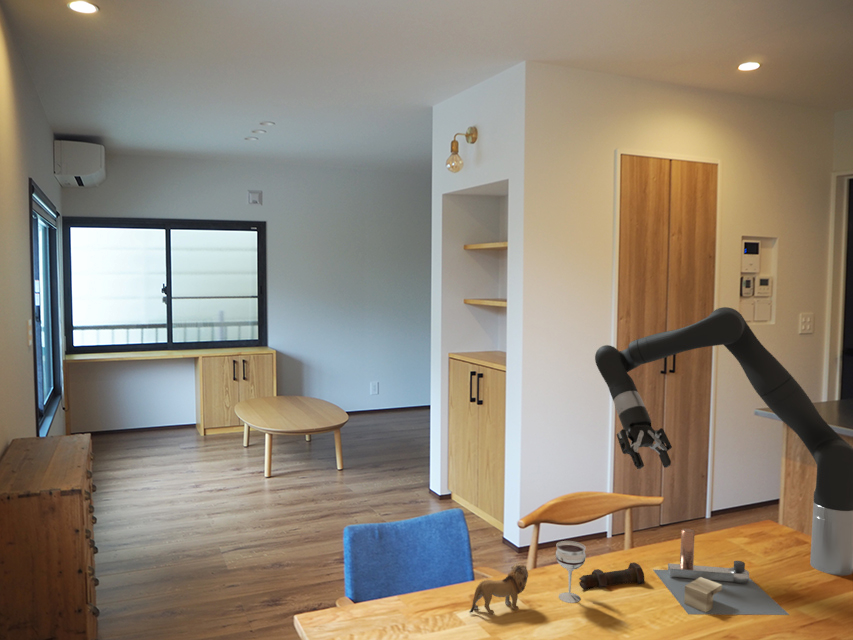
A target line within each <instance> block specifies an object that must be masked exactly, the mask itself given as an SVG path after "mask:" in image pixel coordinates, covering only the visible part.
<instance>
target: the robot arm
mask: <svg viewBox="0 0 853 640" xmlns="http://www.w3.org/2000/svg"><path fill="white" fill-rule="evenodd" d="M716 346H724V347H725V348H726V349H727V350H728V352H730V353H731V354H732V355H733V357H734V358H735V359H736V360H737V362H738V364H739V365H740V367H741V368H742V370H743V372H744V374H745V375H746V378H747V379H748V381H749V383H750V385H751V386H752V388H753V389H754V391H755V392H756V393H757V395H758V396H759V397H760V399H761V400H762V401H763V402H764V404H765V405H766V406H767V407H768V408H769V409H770V410H771V412H773V413H774V414H775V415H776V416H777V417H778V418H779V420H781V421H782V422H783V423H784V424H786V425H787V427H789V428H790V429H791V430H792V431H793V432H794V433H795V434H797V436H798V437H799V438H800V440H801V441H802V442H803V444H804V446H805V447H806V448H807V450H808V451H809V453H810V455H811V456H812V458H813V460H814V461H815V463H816V479H815V481H816V482H815V489H814V491H813V503H812V505H813V506H812V525H811V540H810V541H811V545H810V547H811V548H810V559H809V560H810V561H809V562H810V563H809V565H810V566H811V567H812V568H813V569H814V570H815V569H816V570H817V571H819V572H822V573H826V574H828V575H834V576H849V575H852V574H853V446H851V444H849V442H847V441H846V440H845V439H844V438H842V436H841V435H839V433H837V432H836V431H835V430H834V428H832V427H831V426H830V425H829V424H828V423H827V422H826V421H825V420H824V418H823V417H822V415H821V414H820V412H819V411H818V409H817V408H816V406H815V404H814V403H813V402H812V400H811V399H810V397H809V395H808V394H807V393H806V392H805V390H804V389H803V388H802V386H801V384H799V382H797V380H796V379H795V378H794V377H793V376H792V374H791V373H790V372H789V371H788V370H787V369H786V367H784V366H783V364H782V363H780V361H778V359H777V358H776V357H775V356H774V355H773V354H772V353H771V352H770V351H769V350H768V349H767V348H766V347H765V346H764V345H763V344H762V343H761V342H760V340H759V339H758V338H757V336H756V335H755V333H754V332H753V330H752V329H751V328H750V326H749V324H748V323H747V322H746V320H745V318H744V317H743V315H742V314H741V313H740V312H739V311H738V310H737V309H736V308H735V309H734V308H733V307H725V306H723V307H719V308H716V309H714V310H713V311H712V312H711V313H710V314H709V315H708V316H707V317H705V318H703V319H701V320H698V321H697V322H695V323H692V324H690V325H687V326H684V327H680V328H677V329H673V330H668V331H662V332H657V333H655V334H651V335H647V336H645V337H644V336H643V337H641V338H638V339H634V340H633V341H631V342H629V344H628V347H627V348H625V349H623V350H621V351H619V350H618V349H617V348H616V347H614V346H613V345H608V344H606V345H602V346H600V347H599V348H598V349H597V350H596V353H595V354H594V361H595V365H596V367H597V369H598V371H599V373H600V375H601V377H602V378H603V380H604V382H605V383H606V385H607V388H608V390H609V393H610V396H611V398H612V401H613V403H614V408H615V411H616V414H617V416H618V419H619V421H620V424H621V426H622V429H621V430H619V431H618V432H617V434H616V438H617V440H618V443H619V446H620V449H621V452H622V454H624V455H629V456H630V457H631V459H632V463H633V465H634V466H635V468H636V469H638V470H641V469H642V468H644V466H645V465H644V461H643V459H642V456H641V454H640V452H638V451H639V449H640V448H642V447H643V448H650V449H651V451H652V450H654V451H655V452H656V453H657V454H658V457H659V458H660V462H661V464H662V466H663V468H669V467H670V466H671V463H672V460H671V458H670V456H669V454H668V451H670V450H671V449H672V448H673V447H672V444H671V442H670V440H669V438H668V436H667V434H666V432H665V430H664V428H659V429H654V428H653V427H652V419H651V417H650V414H649V412H648V410H647V408H646V406H645V403H644V401H643V398H642V396H641V395H640V393H639V391H638V389H637V386H636V384H635V382H634V380H633V378H632V377H631V376H630V374H629V373H628V372H631V371H632V370H634V369H637V368H638V367H640V366H641V365H644V364H645V365H646V364H649V363H652V362H655V361H659V360H661V359H664V358H668V357H671V356H674V355H677V354H681V353H683V352H687V351H691V350H696V349H702V348H706V347H707V348H708V347H716ZM654 442H655V443H654Z"/></svg>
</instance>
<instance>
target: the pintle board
mask: <svg viewBox="0 0 853 640" xmlns="http://www.w3.org/2000/svg"><path fill="white" fill-rule="evenodd" d="M733 567H734V570H735V571H737V572H744V571H745V570H746V568H745V567H746V563H745V562H744V561H741V560H734V561H733ZM653 572H654V573H655V574H656V576H657V577H658V579H660V581H661V582H662V584H664V586H665V587H666V588H667V590H669V592H670V593H671V595H672V596H673V597H674V598H675V600H676V601H677V602H678V603H679V604H680V606H681V607H682V609H683V610H684V611H685V612H686V613H687V614H688V615H716V616H717V615H719V616H720V615H726V616H727V615H728V616H729V615H733V616H734V615H735V616H737V615H742V616H743V615H745V616H747V615H750V616H755V615H756V616H759V615H760V616H765V615H767V616H768V615H769V616H770V615H774V616H776V615H777V616H779V615H780V616H782V615H783V616H789V615H790V614H789V613H788V612H787V611H786V609H785V608H783V607H782V606H780V605H779V604H778V603H777V602H776V600H774V599H773V598H772V597H771V596H770V595H769V594H768V593H766V592H765V591H764V589H762V588H761V587H760V586H759V585H758V584H756V582H755V581H753V580H752V579H751V578H750V577H749V582H748V583H745V584H741V583H736V582H732V581H719V580H711V581H713V582H716V583H719V584H722V590H721V591H719V592H718V593H716V594H714V595H713V608H712V609H710V610H709V611H707V612H704V611H701V610H699V609H696V608H694V607H691V606H689V605H686V604H684V599H685V586H686V585H687V584H689V583H691V582H693V581H694V580H696V579H694V578H681V577H670V575H669V573H668V569H653Z"/></svg>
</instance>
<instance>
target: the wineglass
mask: <svg viewBox="0 0 853 640" xmlns="http://www.w3.org/2000/svg"><path fill="white" fill-rule="evenodd" d="M555 546H556V551H555V559H556V561H557V563H558V564H559V566H561V567H562V568H564V569H566V571H568V573H567V574H568V576H567V577H568V592H561V593H559V594H558V599H560V600H561V601H562V602H564V603H568V604H569V603H570V604H571V603H572V604H574V603H579V602H580V601H581V596H580V595H578V594H576V593H573V592H571V589H572V578H573V577H572V575H573V572H574V570H578V569H580V568H582V566H583V565H585V562H586V557H587V556H586V552H585V551H586V549H587V547H586V546H585V544H582V543H580V542H579V541H574V540H573V541H572V540H564V541H563V540H562V541H558V542H557V543H556V545H555Z"/></svg>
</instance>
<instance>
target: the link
mask: <svg viewBox="0 0 853 640" xmlns="http://www.w3.org/2000/svg"><path fill="white" fill-rule="evenodd" d="M680 531H681V533H680V554H679V555H680V557H679V563H670V562H669V563H667V570H668V573H669V575H670V577H681V578H694V579H698V578H700V577H702V578H705V579H708V580H719V581H732V582H736V583H741V584H745V583H748V582H749V578H750V572H749V571H748V570H747V569H745V571H744V572H737V571H735V570H734V566H733V567H720V566H719V567H718V566H707V565H694V558H695V555H694V553H695V530H693V529H690V528H682V529H681V530H680Z"/></svg>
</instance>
